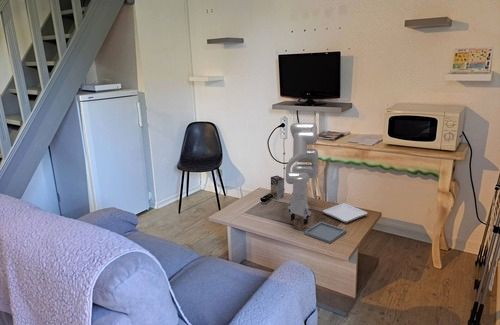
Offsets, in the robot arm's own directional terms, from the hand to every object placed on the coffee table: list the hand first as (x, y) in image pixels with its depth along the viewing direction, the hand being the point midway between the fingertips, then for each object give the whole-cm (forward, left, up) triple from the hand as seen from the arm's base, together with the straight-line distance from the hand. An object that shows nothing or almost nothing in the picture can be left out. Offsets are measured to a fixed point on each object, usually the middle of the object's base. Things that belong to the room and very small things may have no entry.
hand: (299, 222), depth 221 cm
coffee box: (-43, +32, -5) cm, 54 cm away
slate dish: (+16, +5, -4) cm, 17 cm away
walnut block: (0, +1, -4) cm, 4 cm away
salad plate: (+12, +35, -5) cm, 37 cm away
